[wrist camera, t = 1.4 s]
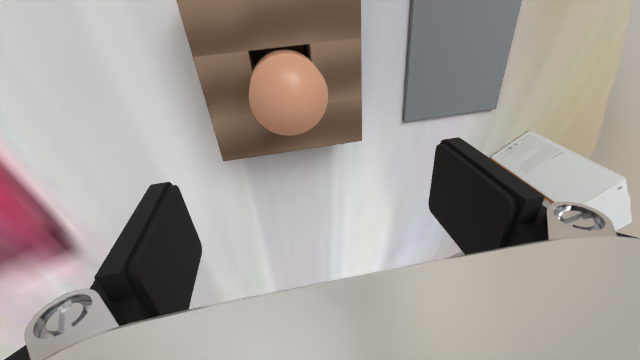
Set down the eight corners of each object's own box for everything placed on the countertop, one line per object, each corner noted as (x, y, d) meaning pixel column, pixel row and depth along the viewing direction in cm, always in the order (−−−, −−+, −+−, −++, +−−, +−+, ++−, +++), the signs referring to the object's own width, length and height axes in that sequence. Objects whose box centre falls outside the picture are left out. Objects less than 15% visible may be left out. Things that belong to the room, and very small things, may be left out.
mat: (414, -40, 28) (416, -41, 28) (529, -50, 29) (534, -51, 29) (402, 120, 37) (404, 122, 36) (492, 107, 38) (495, 108, 37)
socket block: (190, -6, 27) (174, -7, 22) (342, -21, 28) (360, -25, 23) (229, 137, 34) (223, 161, 29) (347, 120, 36) (361, 140, 30)
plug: (247, 41, 29) (240, 61, 19) (304, 34, 29) (325, 51, 20) (258, 98, 31) (257, 140, 22) (310, 92, 32) (330, 130, 23)
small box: (488, 156, 42) (568, 212, 31) (529, 128, 41) (629, 176, 30) (505, 191, 46) (581, 251, 35) (543, 166, 45) (635, 221, 34)
